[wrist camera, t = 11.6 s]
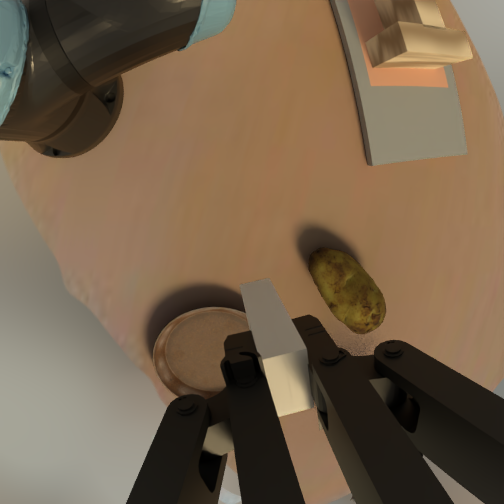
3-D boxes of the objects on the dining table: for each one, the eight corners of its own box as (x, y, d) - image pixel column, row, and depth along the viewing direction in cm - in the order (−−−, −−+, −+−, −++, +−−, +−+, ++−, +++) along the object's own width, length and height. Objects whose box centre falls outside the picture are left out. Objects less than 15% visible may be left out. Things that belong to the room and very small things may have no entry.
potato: (351, 228, 44) (378, 241, 36) (372, 303, 48) (398, 326, 40) (298, 252, 44) (317, 270, 36) (325, 327, 48) (345, 354, 40)
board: (461, 154, 43) (467, 154, 42) (367, 165, 42) (372, 165, 40) (421, -9, 35) (426, -12, 33) (322, -23, 33) (325, -27, 32)
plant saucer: (284, 379, 50) (288, 390, 47) (180, 406, 49) (179, 418, 46) (256, 282, 44) (260, 290, 42) (136, 316, 44) (132, 326, 41)
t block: (435, 69, 38) (473, 57, 29) (372, 68, 37) (407, 51, 28) (413, 3, 34) (446, -17, 26) (349, -4, 33) (377, -31, 25)
